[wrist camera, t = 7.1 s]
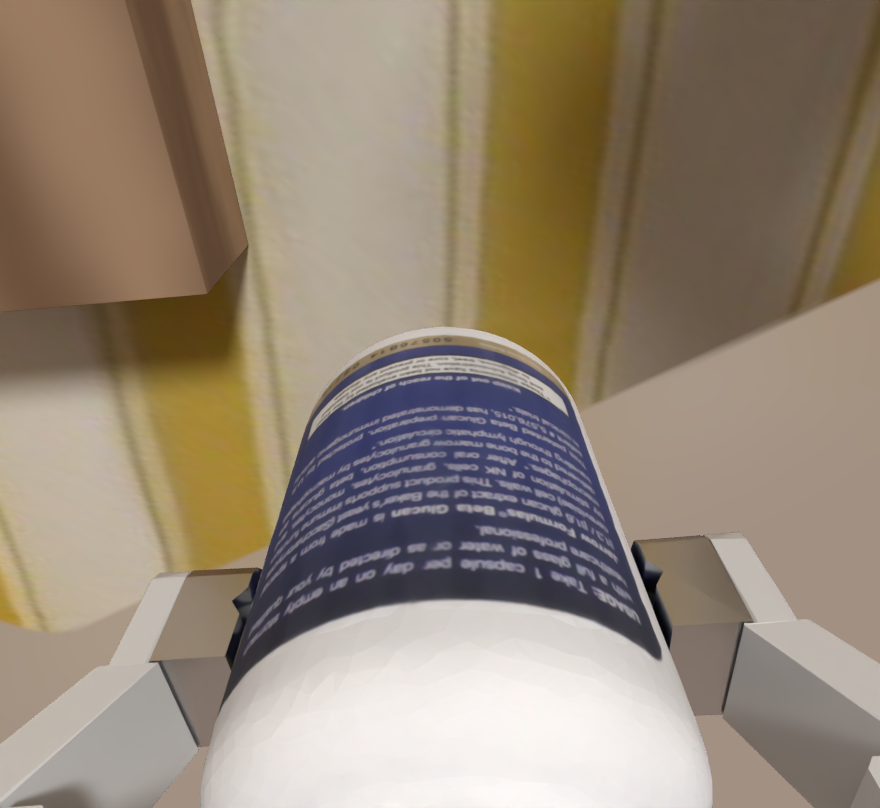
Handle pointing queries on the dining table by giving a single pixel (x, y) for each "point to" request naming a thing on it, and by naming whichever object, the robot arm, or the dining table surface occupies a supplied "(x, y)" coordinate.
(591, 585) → the pill bottle
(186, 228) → the walnut riser
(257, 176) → the dining table surface
